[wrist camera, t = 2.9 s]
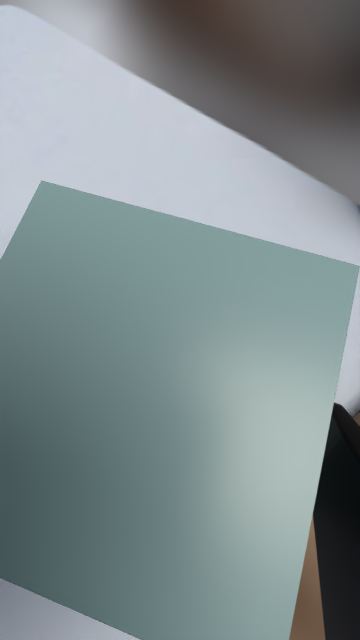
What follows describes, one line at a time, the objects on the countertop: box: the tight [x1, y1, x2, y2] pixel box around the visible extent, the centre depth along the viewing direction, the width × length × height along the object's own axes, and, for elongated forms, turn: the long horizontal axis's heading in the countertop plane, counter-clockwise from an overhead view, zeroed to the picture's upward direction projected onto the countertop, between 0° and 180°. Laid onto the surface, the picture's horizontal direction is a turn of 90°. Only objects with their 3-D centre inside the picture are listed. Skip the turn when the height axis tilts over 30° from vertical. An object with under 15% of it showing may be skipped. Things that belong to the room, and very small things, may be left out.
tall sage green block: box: [0, 181, 360, 640], centre depth 10 cm, size 5×5×12 cm
